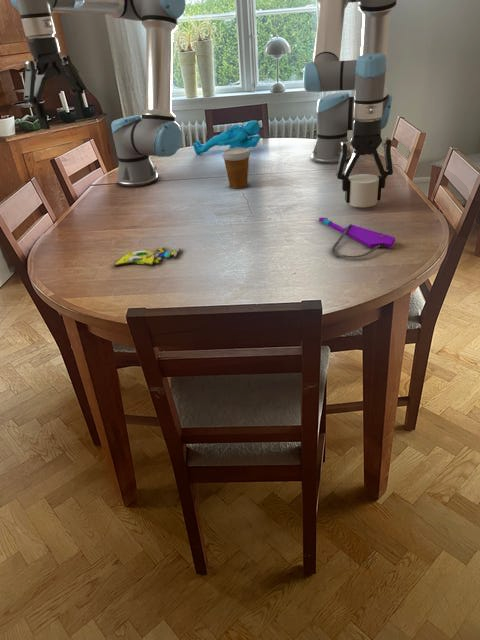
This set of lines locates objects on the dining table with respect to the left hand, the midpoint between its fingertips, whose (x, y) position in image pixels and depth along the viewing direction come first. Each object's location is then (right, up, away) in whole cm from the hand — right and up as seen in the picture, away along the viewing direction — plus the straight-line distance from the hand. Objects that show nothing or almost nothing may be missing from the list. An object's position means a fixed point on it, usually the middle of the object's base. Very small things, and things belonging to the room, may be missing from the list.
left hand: (64, 123), depth 136 cm
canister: (+86, -21, +6) cm, 89 cm away
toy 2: (+26, -40, -12) cm, 49 cm away
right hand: (+86, -20, +6) cm, 89 cm away
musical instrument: (+78, -36, -12) cm, 86 cm away
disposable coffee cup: (+50, -8, +33) cm, 60 cm away
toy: (+45, +18, +74) cm, 89 cm away
